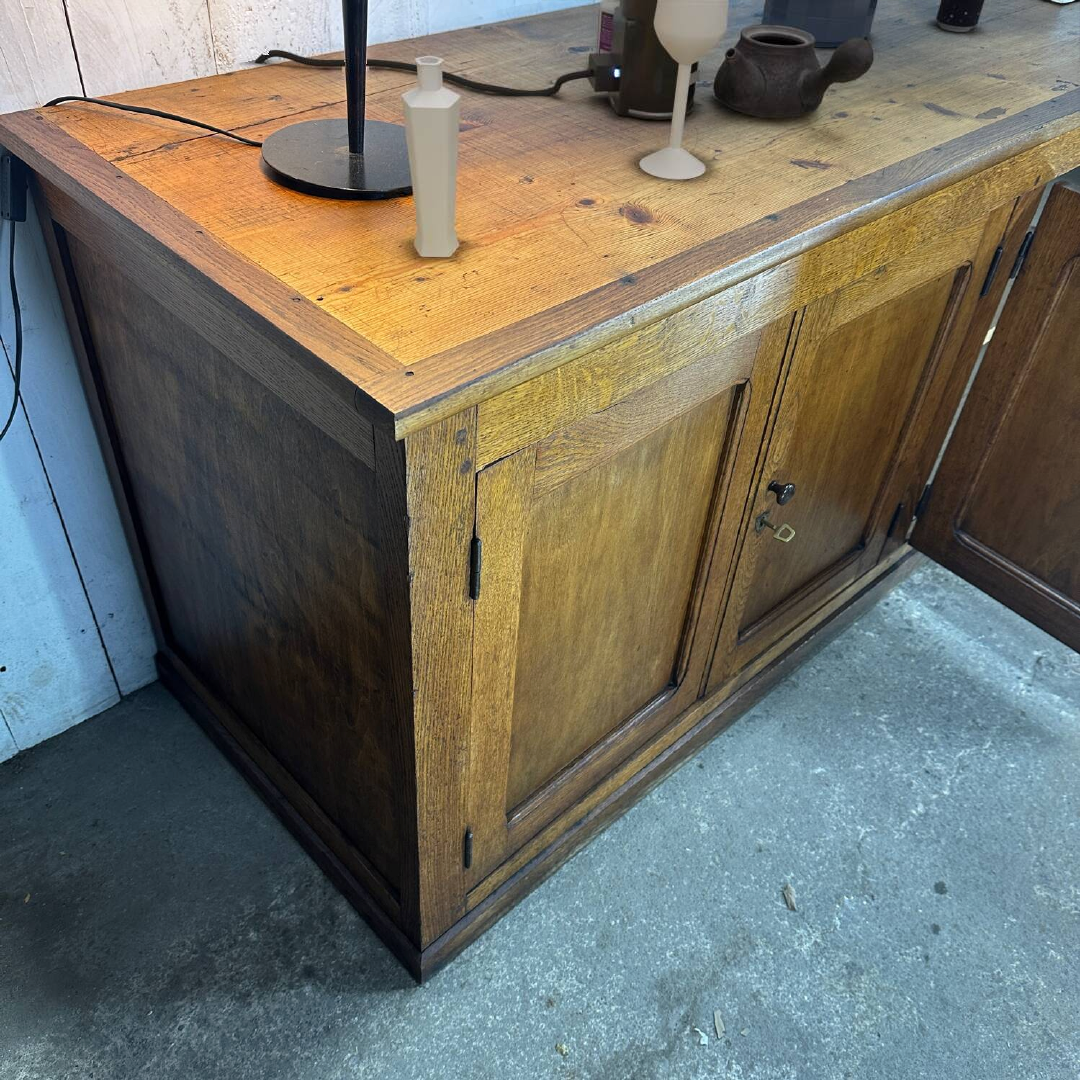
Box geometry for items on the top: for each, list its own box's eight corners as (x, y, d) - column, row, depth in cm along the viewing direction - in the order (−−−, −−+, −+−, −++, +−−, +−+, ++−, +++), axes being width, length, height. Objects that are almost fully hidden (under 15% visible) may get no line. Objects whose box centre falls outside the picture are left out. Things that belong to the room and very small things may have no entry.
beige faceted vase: (463, 235, 86) (460, 51, 76) (462, 259, 83) (459, 69, 73) (410, 235, 86) (400, 49, 76) (407, 258, 82) (396, 67, 72)
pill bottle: (645, 72, 121) (654, -16, 114) (606, 76, 119) (613, -13, 113) (626, 59, 125) (634, -27, 118) (588, 62, 123) (594, -25, 116)
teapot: (672, 109, 112) (684, 12, 105) (752, 81, 120) (768, -11, 113) (813, 159, 102) (836, 56, 95) (890, 125, 110) (916, 28, 104)
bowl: (781, 49, 130) (791, -6, 126) (747, 18, 141) (755, -34, 136) (884, 48, 132) (898, -6, 128) (843, 17, 143) (854, -34, 138)
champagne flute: (625, 165, 99) (652, -119, 83) (665, 148, 103) (698, -127, 87) (680, 185, 96) (719, -107, 80) (718, 166, 100) (763, -116, 83)
